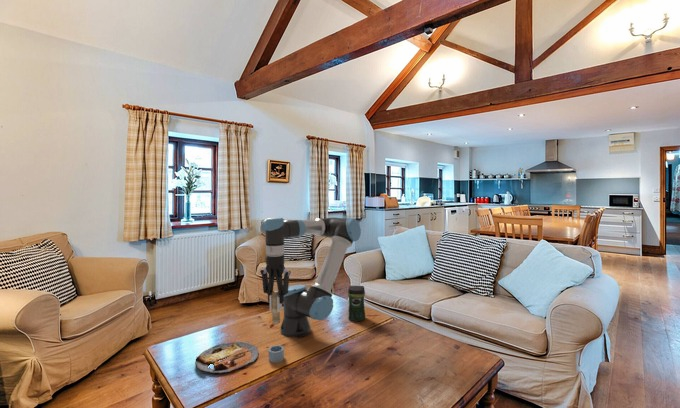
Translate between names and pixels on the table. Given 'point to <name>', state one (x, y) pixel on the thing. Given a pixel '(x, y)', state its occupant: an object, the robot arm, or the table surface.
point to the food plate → (223, 356)
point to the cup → (276, 353)
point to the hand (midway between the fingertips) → (275, 310)
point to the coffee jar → (356, 303)
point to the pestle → (275, 308)
